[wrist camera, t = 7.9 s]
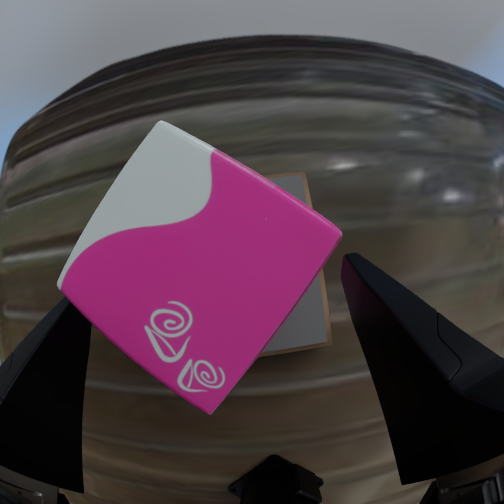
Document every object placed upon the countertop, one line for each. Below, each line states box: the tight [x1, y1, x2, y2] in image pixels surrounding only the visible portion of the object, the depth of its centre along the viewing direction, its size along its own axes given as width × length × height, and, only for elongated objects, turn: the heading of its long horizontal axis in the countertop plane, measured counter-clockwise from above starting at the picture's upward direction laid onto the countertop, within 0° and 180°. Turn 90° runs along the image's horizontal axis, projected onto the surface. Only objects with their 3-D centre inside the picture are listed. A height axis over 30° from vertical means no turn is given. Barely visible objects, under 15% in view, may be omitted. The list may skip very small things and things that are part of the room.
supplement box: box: [57, 120, 342, 415], centre depth 12 cm, size 6×6×12 cm
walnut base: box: [258, 171, 332, 357], centre depth 19 cm, size 12×12×3 cm
